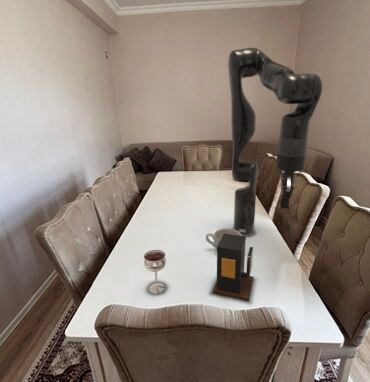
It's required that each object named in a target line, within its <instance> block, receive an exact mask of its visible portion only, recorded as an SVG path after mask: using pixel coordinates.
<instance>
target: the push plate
mask: <svg viewBox="0 0 370 382" xmlns="http://www.w3.org/2000/svg"><path fill="white" fill-rule="evenodd" d="M253 259H254V246H249V249H248V252H247V257H246V270H245V271H246V272H245V273H246V277H249V278H250V276H251V273H252V268H253V261H254V260H253Z"/></svg>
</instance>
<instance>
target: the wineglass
mask: <svg viewBox="0 0 370 382" xmlns="http://www.w3.org/2000/svg"><path fill="white" fill-rule="evenodd" d="M143 259H144V260H143V264H144V268H145V269H146V270H147V271H149V272H152V273H154V279H155V283H153V284H151V285H150V286H149V288H148V290H149V292H150V293H151V294H160V293H163V292H164V290H165V288H166V287H165V285H164V284H163V283H159V282H158V272H161V271H162V270H163V269H164V268H165V267H166V263H167V259H166V252H165V251H163V250H161V249H152V250H148V251H147V252H145V253H144V255H143Z"/></svg>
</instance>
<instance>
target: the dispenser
mask: <svg viewBox="0 0 370 382" xmlns="http://www.w3.org/2000/svg"><path fill="white" fill-rule="evenodd" d="M246 240H247V236H239V235H232V234H225V233H224V234H223V236H222V238H221V240H220V242H219V244H218V246H217V251H216V281H215V283H214V286H213V288H212V294H214V295H217V296H222V297H226V298H231V299H235V300H240V301H244V302H250V299H251V294H252V288H253V284H254V276H252V275H250V278H249V277H246V272H245V264H246V263H245V261H246V242H247V241H246Z"/></svg>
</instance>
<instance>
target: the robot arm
mask: <svg viewBox="0 0 370 382" xmlns="http://www.w3.org/2000/svg"><path fill="white" fill-rule="evenodd" d="M227 69H228V81H229V90H230V91H229V92H230V106H231V109H230V110H231V113H230V115H231V117H230V118H231V120H230V123H231V124H230V125H231V142H232V154H231V156H232V158H231V178H232V181H234V182H235V183H236V182H237V183H245V184H246V183H247V185H246V186H243V187H239V188H237V189H236V190H235V191H234V204H233V229H234V230H237V231H238V232H240V233H241V235H242V236H246V237H250V236H253V235H254V234H255V220H256V219H255V217H256V202H257V201H256V200H257V184H258V177H259V164H258V163H257V161H250V160H241V158H242V157H241V156H242V154H243V152H244V151H245V148H246V147H247V146H248V145H249V143H250V141H251V140H252V138H254V135H255V132H256V122H257V121H256V112H255V110H254V108H253V107H252V104H251V103H250V102H249V100H248V99H247V97H246V95H245V93H244V90H243V83H242V82H243V79H248V78H253V77H255V76H257V77H258V76H259V81H260V83H261V85H262V86H263V87H265V88H266V89H267V90H270V92H273V94H274V96H275V98H276V99H277V100H278V101H279V102H280V103H282V104H286V105H296V104H297V105H296V107H295V109H294V110H293V111H291V112H288V113H286V114H284V115H283V116H282V118H281V121H280V130H279V131H280V132H279V139H278V142H277V148H276V149H277V150H276V158H275V168H276V169H277V170H279V171H283V172H280V208H281V209H284V210H285V209H286V210H287V209H289V204H290V199H292V197H293V196H292V195H293V192H294V189H295V183H296V181H297V176H296V172H301V171H303V170H304V168H305V161H306V155H307V151H308V150H307V149H308V136H309V135H308V134H309V130H310V122H311V120H312V117H313V115H314V113H315V111H316V108H317V106H318V103H319V101H320V99H321V96H322V93H323V81H322V78H321V76H320V75H318V74H317V73H295V71H294V70H293V69H292V68H290V67H289V66H286V65H283V64H281V63H279V62H276V61H274V60H273V59H272V58H270V56H268V55H267V54H265V52H263V51H262V50H260V49H259V48H257V47H246V48H240V49H235V50H232V51H231V52H230V53H229V55H228V60H227Z"/></svg>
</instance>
